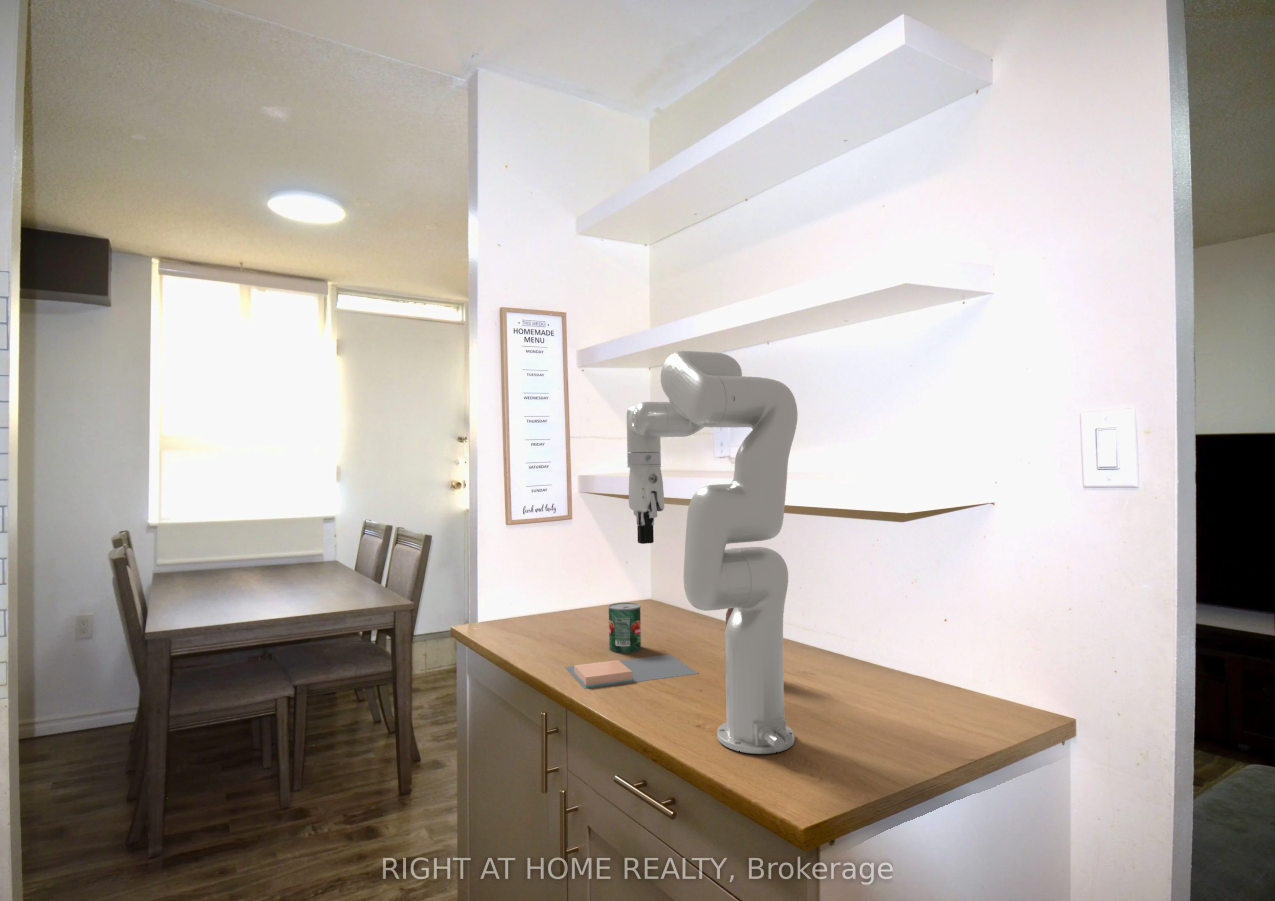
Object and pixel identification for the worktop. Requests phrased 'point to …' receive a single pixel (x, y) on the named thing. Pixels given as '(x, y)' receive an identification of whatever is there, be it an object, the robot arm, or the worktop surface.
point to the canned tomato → (624, 627)
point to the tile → (602, 673)
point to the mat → (649, 669)
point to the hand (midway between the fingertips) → (645, 542)
